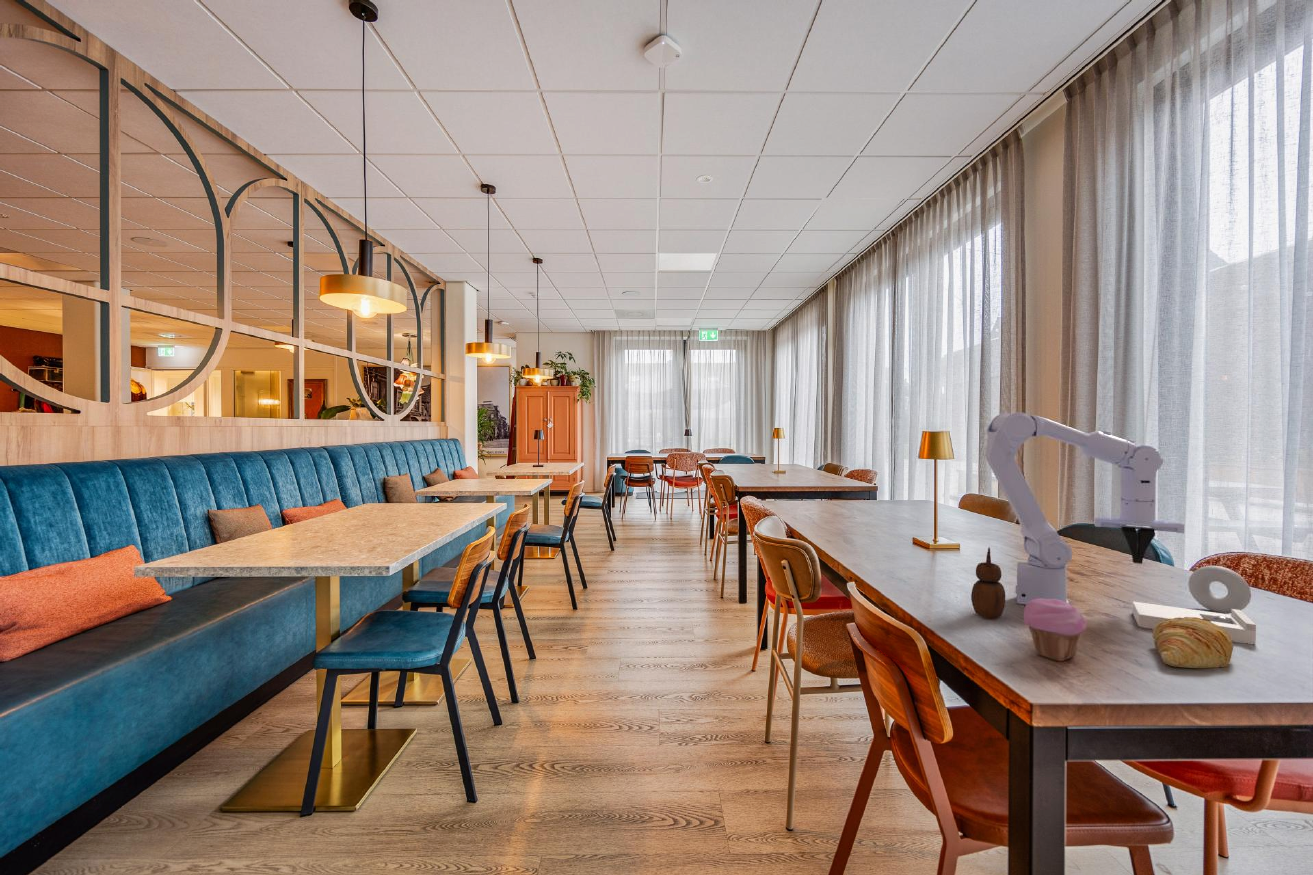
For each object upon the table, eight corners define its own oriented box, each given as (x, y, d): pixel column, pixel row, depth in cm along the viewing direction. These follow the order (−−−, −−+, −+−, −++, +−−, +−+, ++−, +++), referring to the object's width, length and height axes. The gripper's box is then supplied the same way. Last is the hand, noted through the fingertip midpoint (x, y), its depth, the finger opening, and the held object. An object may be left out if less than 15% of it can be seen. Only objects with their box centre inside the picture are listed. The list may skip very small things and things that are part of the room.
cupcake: (1068, 671, 89) (1069, 610, 89) (1012, 652, 97) (1013, 596, 96) (1095, 659, 93) (1095, 601, 93) (1039, 642, 101) (1040, 589, 101)
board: (1139, 626, 109) (1139, 608, 109) (1132, 612, 117) (1132, 595, 117) (1255, 644, 99) (1255, 624, 99) (1239, 628, 107) (1240, 609, 107)
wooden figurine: (998, 623, 111) (998, 550, 110) (967, 616, 115) (967, 545, 115) (1009, 616, 115) (1009, 545, 115) (979, 609, 119) (979, 541, 119)
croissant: (1192, 698, 87) (1226, 663, 84) (1122, 650, 94) (1151, 616, 91) (1232, 665, 98) (1262, 632, 95) (1166, 624, 105) (1193, 593, 102)
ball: (1224, 638, 104) (1207, 624, 105) (1220, 633, 107) (1203, 620, 108) (1241, 628, 103) (1223, 614, 104) (1236, 623, 105) (1219, 610, 107)
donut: (1254, 618, 113) (1255, 570, 113) (1245, 620, 112) (1246, 572, 111) (1193, 604, 122) (1193, 560, 122) (1184, 606, 121) (1184, 561, 121)
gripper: (1096, 499, 119) (1095, 561, 119) (1187, 504, 111) (1187, 571, 111) (1093, 496, 125) (1093, 555, 125) (1180, 501, 117) (1180, 564, 117)
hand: (1137, 562), depth 118 cm, fingers closed
